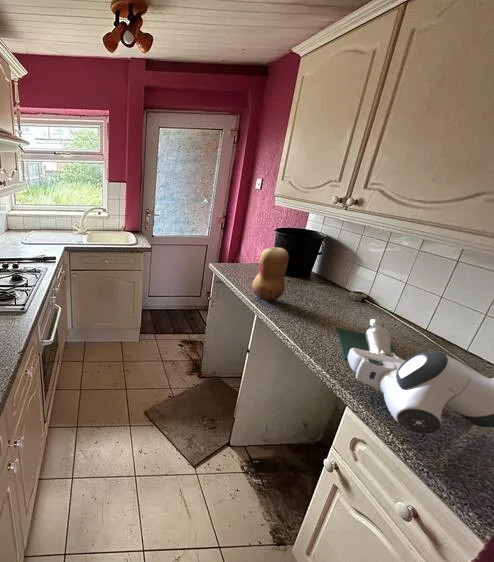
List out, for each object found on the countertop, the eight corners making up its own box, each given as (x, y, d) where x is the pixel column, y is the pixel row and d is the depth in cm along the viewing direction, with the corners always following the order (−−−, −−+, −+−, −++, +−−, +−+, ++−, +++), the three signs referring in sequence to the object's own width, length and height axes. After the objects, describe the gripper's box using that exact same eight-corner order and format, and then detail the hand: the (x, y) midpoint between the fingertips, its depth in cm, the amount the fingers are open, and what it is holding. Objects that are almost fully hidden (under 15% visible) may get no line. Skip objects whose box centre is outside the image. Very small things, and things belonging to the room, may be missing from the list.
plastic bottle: (364, 370, 92) (360, 317, 104) (373, 382, 95) (368, 329, 106) (392, 369, 88) (384, 314, 99) (400, 382, 90) (392, 326, 102)
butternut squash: (244, 294, 151) (254, 244, 142) (269, 293, 154) (280, 243, 145) (261, 306, 139) (273, 252, 129) (288, 305, 141) (301, 252, 132)
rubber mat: (406, 375, 96) (406, 374, 96) (344, 359, 103) (344, 358, 102) (387, 339, 116) (387, 338, 115) (336, 328, 122) (336, 327, 122)
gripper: (458, 384, 75) (437, 355, 86) (356, 358, 84) (349, 335, 95) (447, 404, 77) (428, 373, 89) (349, 377, 86) (343, 352, 97)
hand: (386, 353), depth 92 cm, fingers closed
